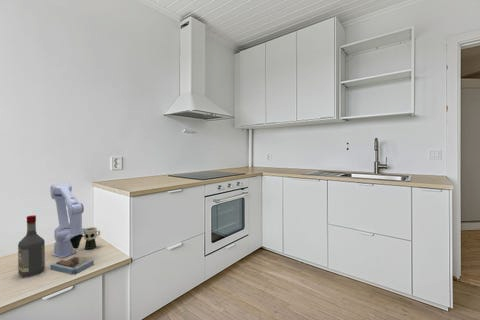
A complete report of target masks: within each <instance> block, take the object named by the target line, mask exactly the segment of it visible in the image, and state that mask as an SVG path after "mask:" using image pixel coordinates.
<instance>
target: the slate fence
mask: <svg viewBox="0 0 480 320" xmlns="http://www.w3.org/2000/svg"><path fill="white" fill-rule="evenodd" d="M94 260H95V259H91V260H89V261H86V262H84V263H83V264H80V265H78V266H76V267H74V268H72V267H67V266H63V265H58V264H56V263H51V264H50V265H49V269H50V270H53V271H57V272H61V273H65V274H70V275H73V274H74V275H76V274H78V273H80V272H82V271H84V270H86V269H88V268H89V267H92V266H94V264H95V261H94Z"/></svg>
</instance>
